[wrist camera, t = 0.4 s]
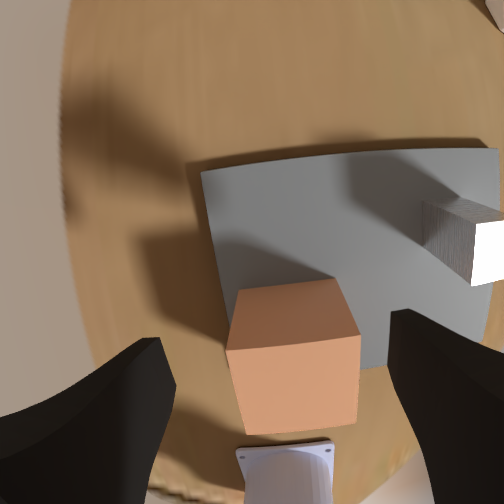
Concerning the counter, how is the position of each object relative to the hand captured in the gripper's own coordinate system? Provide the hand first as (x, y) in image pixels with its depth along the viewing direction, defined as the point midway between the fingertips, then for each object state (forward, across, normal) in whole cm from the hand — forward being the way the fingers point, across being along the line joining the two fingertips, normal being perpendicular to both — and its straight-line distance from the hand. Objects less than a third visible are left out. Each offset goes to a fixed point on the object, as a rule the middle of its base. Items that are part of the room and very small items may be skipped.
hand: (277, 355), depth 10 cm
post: (+8, -9, -1) cm, 12 cm away
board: (+9, -6, +1) cm, 10 cm away
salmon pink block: (+8, 0, +4) cm, 9 cm away
